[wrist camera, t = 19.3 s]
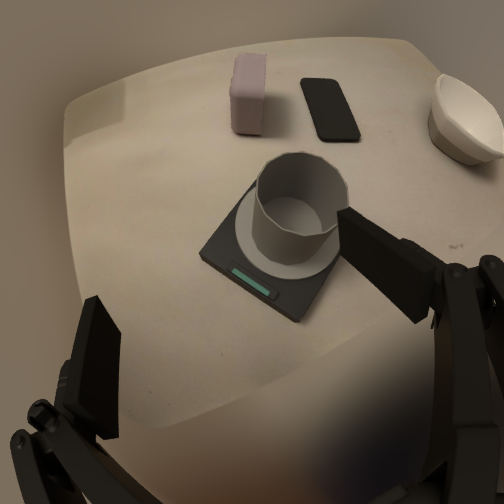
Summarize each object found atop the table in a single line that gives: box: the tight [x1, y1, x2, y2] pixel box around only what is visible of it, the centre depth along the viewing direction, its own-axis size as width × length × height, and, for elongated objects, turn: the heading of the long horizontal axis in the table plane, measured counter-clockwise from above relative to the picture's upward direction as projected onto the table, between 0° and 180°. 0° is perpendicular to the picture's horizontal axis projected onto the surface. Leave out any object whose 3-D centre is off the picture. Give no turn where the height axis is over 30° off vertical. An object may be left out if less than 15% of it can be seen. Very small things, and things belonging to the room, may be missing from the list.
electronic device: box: [229, 53, 267, 135], centre depth 40 cm, size 10×5×10 cm, turn 177°
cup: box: [252, 151, 349, 265], centre depth 30 cm, size 8×8×10 cm
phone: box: [300, 78, 361, 141], centre depth 45 cm, size 7×1×15 cm
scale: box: [199, 179, 361, 323], centre depth 37 cm, size 16×14×4 cm
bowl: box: [428, 74, 504, 166], centre depth 42 cm, size 18×18×9 cm
